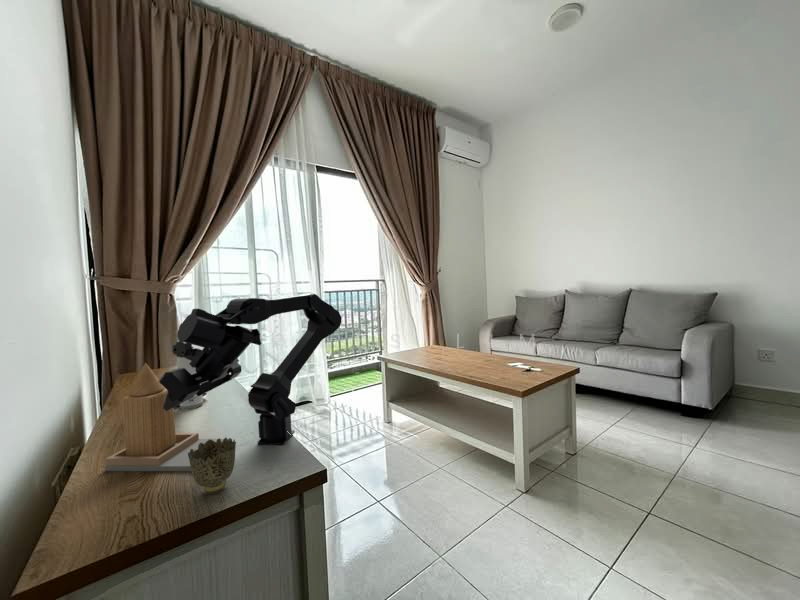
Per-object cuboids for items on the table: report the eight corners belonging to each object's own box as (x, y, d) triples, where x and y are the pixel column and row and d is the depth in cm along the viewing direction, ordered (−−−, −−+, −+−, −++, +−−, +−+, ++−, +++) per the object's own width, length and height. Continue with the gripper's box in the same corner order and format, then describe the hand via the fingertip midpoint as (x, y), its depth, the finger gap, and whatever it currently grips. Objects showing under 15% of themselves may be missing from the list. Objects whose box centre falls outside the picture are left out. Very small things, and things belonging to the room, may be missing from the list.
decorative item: (124, 458, 70) (118, 366, 69) (150, 444, 76) (144, 359, 75) (153, 458, 69) (147, 365, 68) (177, 443, 76) (171, 358, 75)
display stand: (232, 442, 77) (231, 432, 77) (196, 471, 65) (196, 458, 65) (153, 443, 79) (152, 433, 79) (105, 471, 67) (104, 459, 67)
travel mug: (196, 409, 101) (192, 345, 101) (175, 410, 101) (171, 346, 101) (208, 402, 108) (204, 342, 107) (188, 403, 108) (184, 343, 107)
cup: (217, 505, 54) (214, 458, 54) (180, 501, 56) (177, 455, 55) (247, 479, 62) (244, 437, 61) (213, 476, 63) (210, 436, 63)
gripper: (227, 320, 80) (188, 366, 81) (165, 330, 61) (116, 389, 63) (259, 351, 79) (219, 397, 81) (206, 371, 61) (156, 429, 62)
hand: (182, 401), depth 72 cm, fingers open, 9 cm apart
